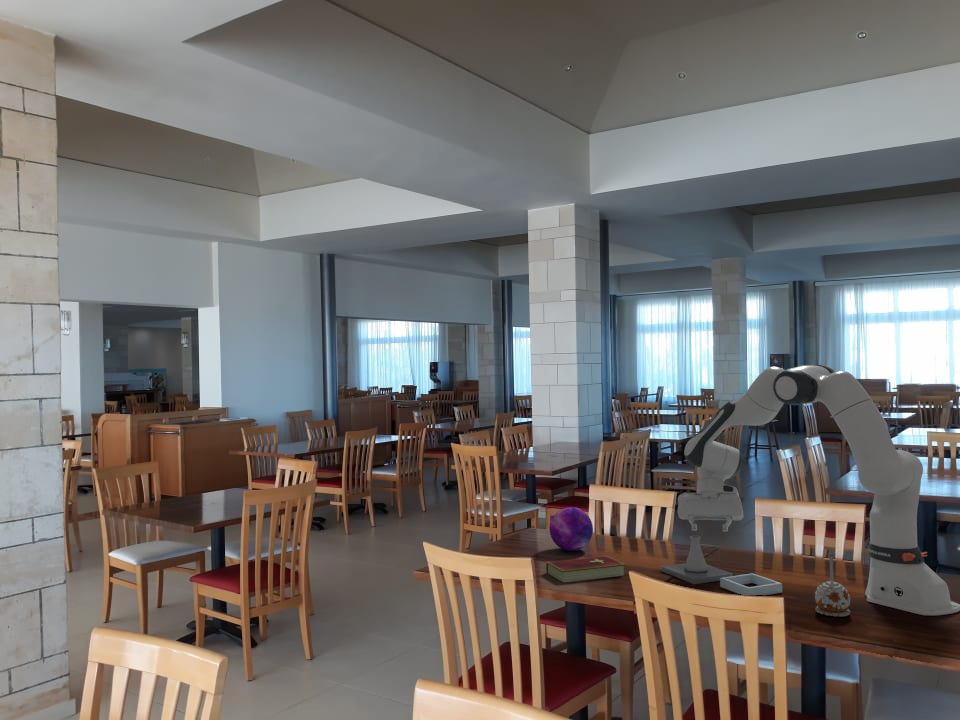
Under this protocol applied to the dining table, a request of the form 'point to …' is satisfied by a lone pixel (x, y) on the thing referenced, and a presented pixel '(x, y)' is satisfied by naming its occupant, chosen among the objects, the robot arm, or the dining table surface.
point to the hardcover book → (585, 568)
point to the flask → (695, 557)
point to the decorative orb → (571, 529)
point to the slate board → (695, 573)
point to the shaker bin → (765, 587)
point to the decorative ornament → (832, 597)
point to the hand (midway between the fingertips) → (709, 530)
